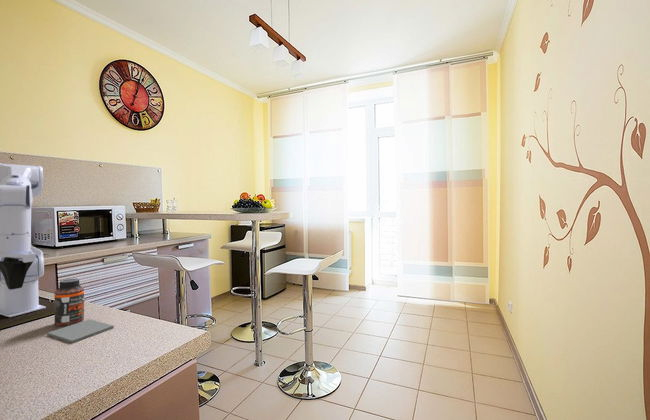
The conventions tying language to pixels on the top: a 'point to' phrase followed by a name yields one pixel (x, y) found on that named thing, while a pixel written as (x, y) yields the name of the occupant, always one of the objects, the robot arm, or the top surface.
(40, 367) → the top surface
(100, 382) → the top surface
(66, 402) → the top surface
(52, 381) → the top surface
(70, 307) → the supplement bottle
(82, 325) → the mat
